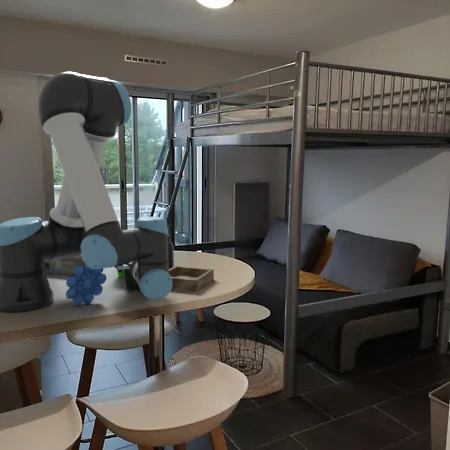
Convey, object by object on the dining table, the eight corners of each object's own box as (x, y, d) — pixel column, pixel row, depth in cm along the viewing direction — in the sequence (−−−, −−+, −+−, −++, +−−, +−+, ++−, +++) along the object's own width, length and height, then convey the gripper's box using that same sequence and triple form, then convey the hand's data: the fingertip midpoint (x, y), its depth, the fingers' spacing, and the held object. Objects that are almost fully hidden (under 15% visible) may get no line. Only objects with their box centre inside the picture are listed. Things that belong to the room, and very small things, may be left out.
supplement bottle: (177, 267, 159) (177, 235, 157) (163, 270, 154) (162, 237, 153) (166, 264, 164) (165, 233, 162) (151, 267, 159) (150, 235, 157)
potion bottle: (141, 282, 139) (139, 228, 137) (155, 288, 133) (154, 231, 131) (118, 287, 134) (116, 230, 131) (132, 293, 128) (130, 234, 125)
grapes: (100, 295, 126) (98, 255, 124) (111, 301, 121) (109, 259, 119) (60, 304, 118) (58, 262, 117) (70, 311, 114) (68, 266, 112)
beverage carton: (56, 267, 159) (55, 250, 158) (100, 272, 153) (99, 254, 152) (40, 273, 152) (39, 254, 151) (86, 278, 145) (85, 259, 144)
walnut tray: (156, 287, 135) (155, 276, 134) (175, 275, 148) (175, 265, 147) (197, 291, 130) (196, 280, 130) (213, 279, 143) (213, 269, 143)
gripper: (106, 288, 112) (100, 267, 134) (184, 280, 120) (166, 262, 141) (105, 260, 111) (99, 244, 132) (184, 254, 118) (166, 239, 140)
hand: (133, 253), depth 137 cm, fingers closed on potion bottle, 8 cm apart
